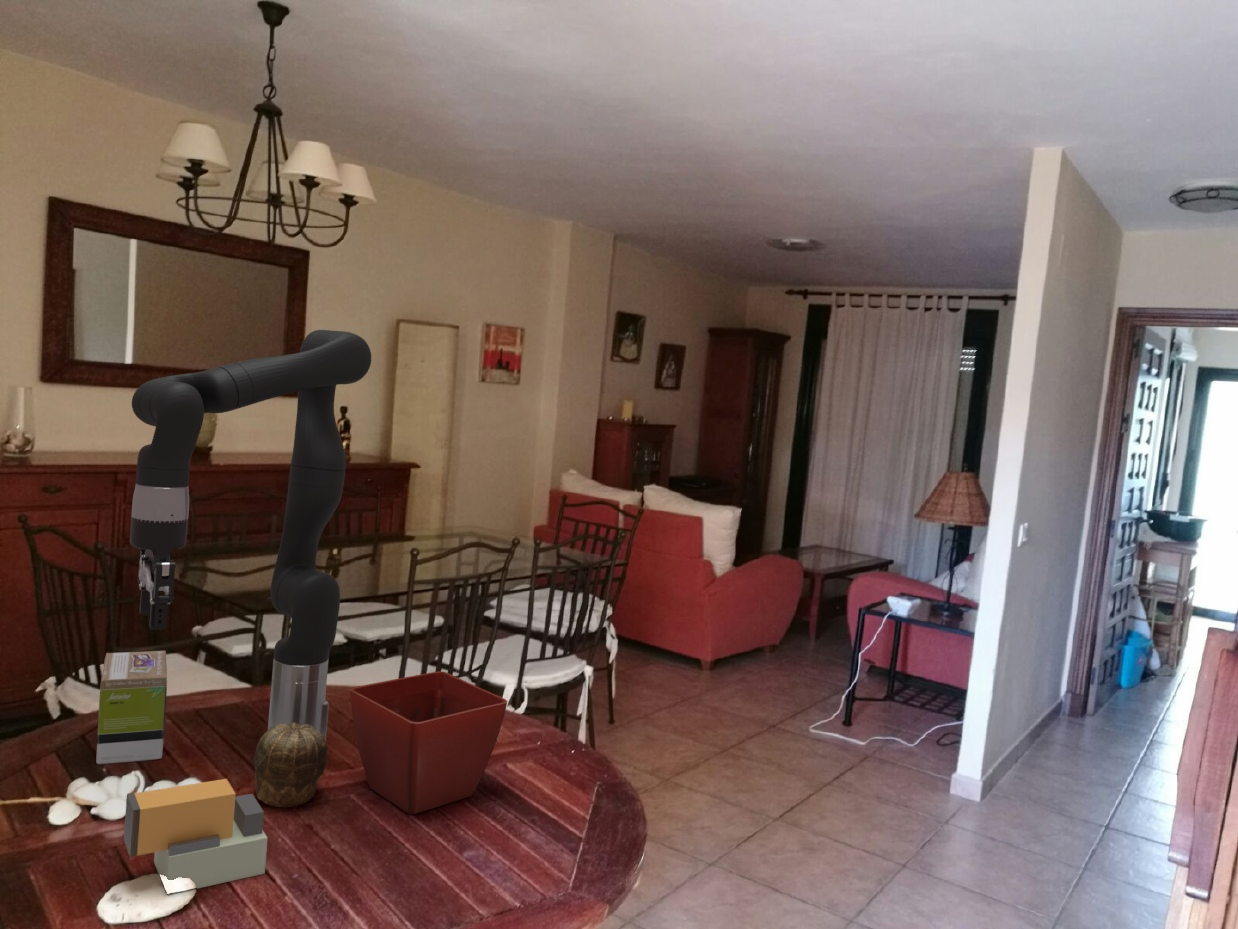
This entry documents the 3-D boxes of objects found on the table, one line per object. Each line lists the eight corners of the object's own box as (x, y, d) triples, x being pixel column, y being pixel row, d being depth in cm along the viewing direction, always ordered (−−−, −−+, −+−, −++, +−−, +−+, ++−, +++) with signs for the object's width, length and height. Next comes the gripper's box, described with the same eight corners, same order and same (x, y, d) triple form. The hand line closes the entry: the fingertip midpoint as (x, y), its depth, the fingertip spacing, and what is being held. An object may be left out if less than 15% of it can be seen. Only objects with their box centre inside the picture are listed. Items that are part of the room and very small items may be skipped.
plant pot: (338, 785, 149) (347, 686, 148) (433, 759, 163) (442, 669, 162) (403, 831, 136) (413, 723, 135) (500, 799, 150) (510, 701, 149)
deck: (247, 843, 128) (251, 789, 127) (264, 873, 121) (269, 816, 120) (154, 862, 121) (158, 804, 120) (166, 895, 114) (171, 834, 113)
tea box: (99, 731, 160) (105, 650, 159) (162, 727, 165) (168, 649, 164) (94, 766, 147) (100, 678, 146) (162, 760, 151) (169, 675, 150)
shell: (254, 818, 135) (260, 741, 134) (247, 787, 145) (253, 715, 144) (328, 810, 140) (335, 735, 139) (317, 780, 150) (323, 711, 149)
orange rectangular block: (223, 820, 124) (226, 778, 123) (232, 837, 120) (235, 793, 119) (123, 839, 116) (126, 793, 116) (129, 857, 112) (133, 810, 112)
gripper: (198, 523, 130) (189, 633, 131) (178, 507, 141) (170, 608, 142) (140, 523, 125) (131, 636, 126) (124, 507, 136) (117, 611, 138)
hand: (152, 621), depth 134 cm, fingers open, 8 cm apart
